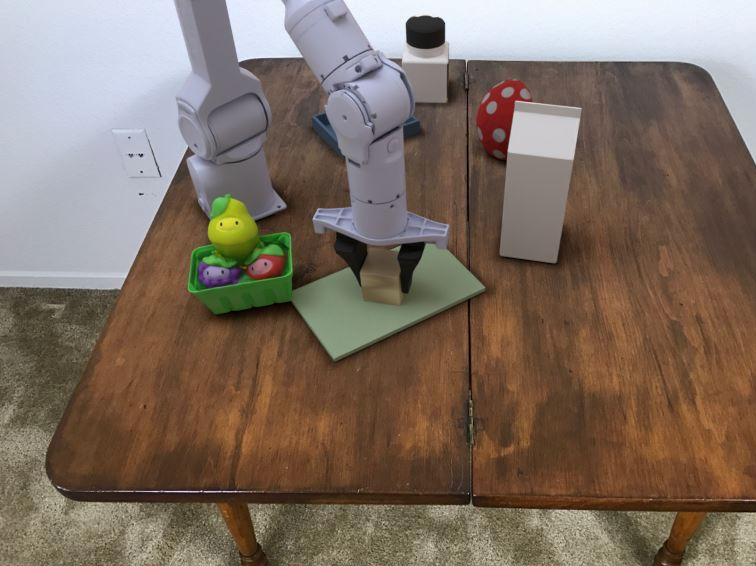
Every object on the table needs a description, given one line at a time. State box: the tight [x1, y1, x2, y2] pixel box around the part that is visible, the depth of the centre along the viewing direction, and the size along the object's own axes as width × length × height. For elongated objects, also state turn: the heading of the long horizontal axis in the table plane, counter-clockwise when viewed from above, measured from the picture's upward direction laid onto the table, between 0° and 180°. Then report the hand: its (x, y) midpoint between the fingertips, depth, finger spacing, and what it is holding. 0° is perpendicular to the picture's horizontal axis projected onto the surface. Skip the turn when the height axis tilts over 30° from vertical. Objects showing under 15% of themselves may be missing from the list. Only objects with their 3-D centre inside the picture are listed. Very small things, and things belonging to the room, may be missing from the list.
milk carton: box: [499, 101, 583, 264], centre depth 79 cm, size 7×7×19 cm
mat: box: [290, 243, 486, 363], centre depth 80 cm, size 20×12×1 cm, turn 124°
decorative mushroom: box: [475, 78, 534, 161], centre depth 98 cm, size 11×11×15 cm
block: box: [360, 247, 404, 306], centre depth 78 cm, size 4×4×4 cm
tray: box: [310, 110, 421, 160], centre depth 102 cm, size 13×10×2 cm
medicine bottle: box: [401, 13, 450, 104], centre depth 107 cm, size 7×7×12 cm
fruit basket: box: [187, 195, 294, 315], centre depth 75 cm, size 11×9×11 cm
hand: (386, 284), depth 79 cm, fingers closed on block, 4 cm apart
